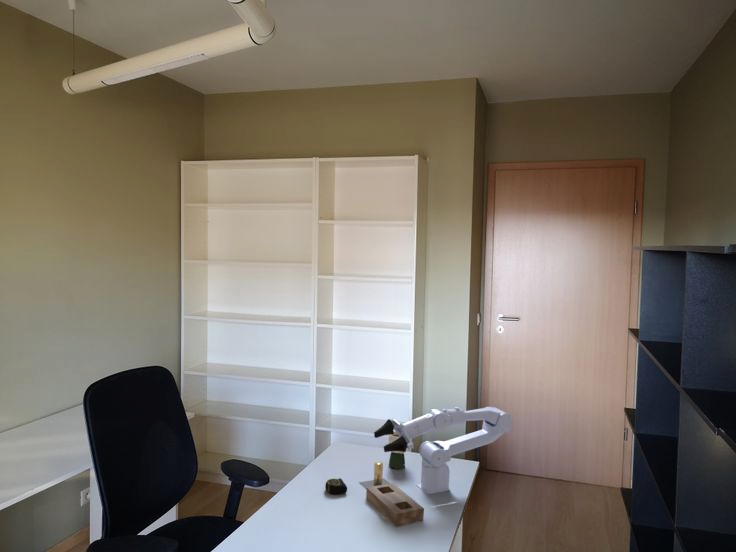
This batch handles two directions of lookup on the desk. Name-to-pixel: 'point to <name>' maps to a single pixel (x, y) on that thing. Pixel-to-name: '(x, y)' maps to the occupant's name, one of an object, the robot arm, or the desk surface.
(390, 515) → the block
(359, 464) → the desk surface
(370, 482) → the rubber mat
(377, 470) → the brass pin
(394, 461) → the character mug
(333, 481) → the tape measure
